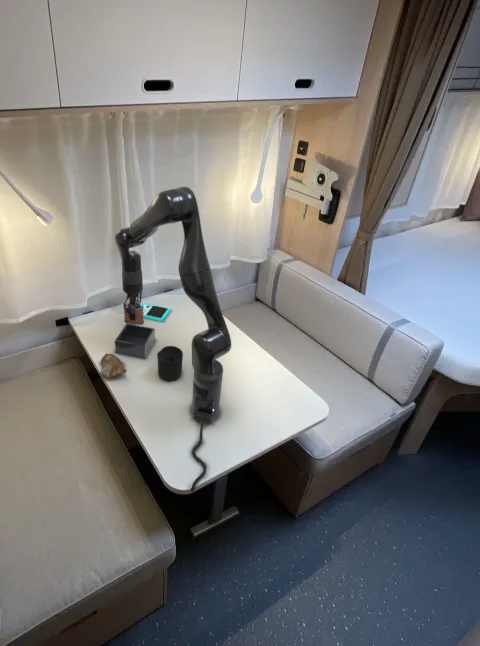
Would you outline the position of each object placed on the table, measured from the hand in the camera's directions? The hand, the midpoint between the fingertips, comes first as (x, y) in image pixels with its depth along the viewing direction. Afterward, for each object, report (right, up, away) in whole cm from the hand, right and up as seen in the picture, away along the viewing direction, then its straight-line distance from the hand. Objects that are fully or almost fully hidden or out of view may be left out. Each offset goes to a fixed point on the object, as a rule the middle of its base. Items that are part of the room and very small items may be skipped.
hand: (134, 317), depth 157 cm
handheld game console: (+5, +1, +30) cm, 30 cm away
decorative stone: (-8, -20, -4) cm, 22 cm away
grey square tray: (0, -12, +8) cm, 15 cm away
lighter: (0, -2, +1) cm, 3 cm away
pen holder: (+14, -22, -6) cm, 27 cm away
